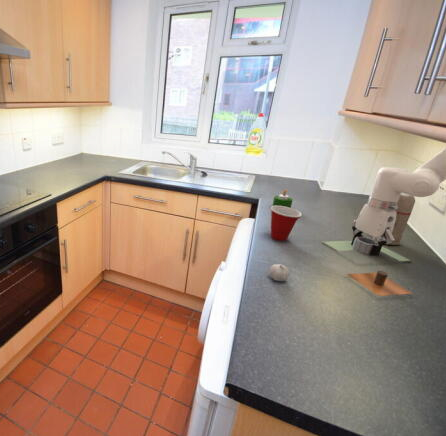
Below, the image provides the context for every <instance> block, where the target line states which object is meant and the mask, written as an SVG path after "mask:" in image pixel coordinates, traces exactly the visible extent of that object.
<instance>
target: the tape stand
mask: <svg viewBox="0 0 446 436" xmlns="http://www.w3.org/2000/svg"><path fill="white" fill-rule="evenodd" d="M388 274H389V273H387V272H386V271H383V270H377V271H376V272H363V273H362V272H361V273H360V272H359V273H346V275H347V276H348V277H350V278H351V279H353V280H354V281H355V282H357V283H359V284H361V285H362V286H363V287H365V288H367V289H368V290H369V291H370V292H372V293H374V294H375V295H377V296H378V297H381V296H383V297H385V296H397V295H412V294H414V293H413V292H412V291H410V290H409V289H407V288H405V287H404V286H402V285H400V284H398V283H396V282H395V281H393V280H392V279H389V278H388Z"/></svg>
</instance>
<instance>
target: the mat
mask: <svg viewBox="0 0 446 436" xmlns="http://www.w3.org/2000/svg"><path fill="white" fill-rule="evenodd" d="M322 243H323V244H324V245H325V246H328V247H329V248H330V249H332V250H334V251H335V252H342V251H343V252H344V251H345V252H347V251H354V250H353V249H352V245H351V243H352V240H334V241H322ZM380 253H383V254H385V255H387V256H388V257H391V258H392V259H395V260H397V261H399V262H401V263H406V262H411V259H409V258H406V257H405V256H402V255H400V254H399V253H396V252H395V251H392V250H390V249H388V248H386V247H384V246H382V248H381V251H380Z"/></svg>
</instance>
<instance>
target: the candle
mask: <svg viewBox="0 0 446 436" xmlns="http://www.w3.org/2000/svg"><path fill="white" fill-rule="evenodd" d="M287 192H288V191H287V189H284V190H283V191H282V194H279V195H274V196H273V201H272V205H271V207H272V206H284V207H289V208H292V204H293V201H294V199H293V198H292V197H290V196H289V195H288V194H287Z"/></svg>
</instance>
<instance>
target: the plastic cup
mask: <svg viewBox="0 0 446 436" xmlns="http://www.w3.org/2000/svg"><path fill="white" fill-rule="evenodd" d="M302 216H303V214H302V213H301V211H299V210H297V209H295V208H292V207H291V208H289V207H284V206H272V205H271V206H270V217H271V218H270V237H271V239H272V240H275V241H278V242H279V241H280V242H286V241H287V240H288V239H289V237H290V234H291V232H292V231H293V228H294V227H295V224H296V222H297V221H298V220H299V219H300V218H301V217H302Z"/></svg>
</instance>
